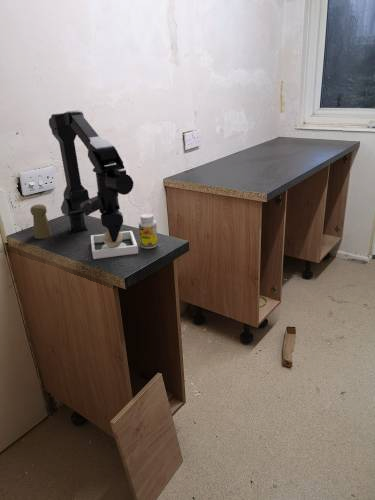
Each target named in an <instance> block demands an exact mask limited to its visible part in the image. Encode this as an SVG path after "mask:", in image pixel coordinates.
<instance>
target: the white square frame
mask: <svg viewBox="0 0 375 500" xmlns="http://www.w3.org/2000/svg"><path fill="white" fill-rule="evenodd" d="M120 232H121V234H122V237H123V240H122V241H124V240H130V242H131V243H132V245H127V244H126V243H125V242H122V243H121V244H120V245H119V246H117V247H114V248H112V247H109V246H107V245H106V244H105V242H104V240H103V236H104V234H105V233H102V234H91V235H90V240H91V241H90V243H91V253H92V254H91V255H92V259H93V260H97V259H105V258H113V257H119V256H127V255H128V256H129V255H136V254H139V249H138V247H139V246H138V244H137V240H136V238H135V236H134V233H133V230H126V231H125V230H124V231H120ZM99 243H104V244H103V245H102V246H101V249H96V246H95V244H99Z"/></svg>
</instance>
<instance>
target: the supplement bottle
mask: <svg viewBox="0 0 375 500" xmlns="http://www.w3.org/2000/svg"><path fill="white" fill-rule="evenodd" d="M138 233H139V234H138V235H139V245H140V247H141V248H143V249H153V248H156V247H157V246H158V230H157V220H155V219H154V215H153V214H152V213H144V214H141V215H140V221H138Z"/></svg>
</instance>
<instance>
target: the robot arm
mask: <svg viewBox="0 0 375 500" xmlns="http://www.w3.org/2000/svg"><path fill="white" fill-rule="evenodd" d="M48 125H49V128H50V129H51V130H50V131H51V134H52V135H53V137H54V138H55V139H56V140H57V141H58V143H59V148H60V155H61V159H62V160H61V162H62V167H63V172H64V176H65V177H64V178H65V182H66V184H65V185H66V186H65V188H64V191H63V201H62V203H61V206H60V210H61V213H62V215H64V216H66V217H68V223H69V225H68V232H69V233H74V232H75V233H76V232H83V231H88V229H89V228H88V223H87V222H86V217H87V216H90V215H91V214H93V213H94V212H97V211H99V213H100V221H101V225H102V227H105V228H106V229H107V230H108V231H109V233H110V236H111V239H112V242H116V240H117V237H118V234H119V231H120V232H121V229H122V226H123V224H124V216H123V213H122V212H121V211H120V209H121V207H120V203H119V195H125V196H126V195H128V194H130V192H131V191H132V190H133V189H134V180H133V178H132V177H131V175H129V174H127V170H126V169H125V165H124V162H123V160H122V158H121V156H120V154H119V152H118V150H117V149H116V147H115V146H114V144H112V143H111V141H108V140H106V139H103V138H102V137H100V135H99V134H98V133H97V132H96V130H95V129H94V128H93V127H92V125H91V124H90V123H89V121H87V119H86V118H85V116H84V113H83V111H80V110H68V111H66V112H64V113H63V112H62V113H53V114H51V115H50V118H49V119H48ZM77 137H78V138H79V140H80V141H81V142H82V143H83V145H84V146H85V147H86V149H87V157H88V159H89V161H90V163H91V164H92V166H93V168H92V172H93V173H95V179H96V186H97V191H96V194H97V195H96V196H93V197H91V198H90V196H89V190H88V189H86V188H85V187H84V186H83V185H82V182H81V181H82V180H81V176H80V175H81V174H80V168H79V163H78V157H77V150H76V145H75V140H76V138H77Z"/></svg>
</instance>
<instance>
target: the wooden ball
mask: <svg viewBox="0 0 375 500" xmlns="http://www.w3.org/2000/svg"><path fill="white" fill-rule="evenodd" d="M121 232H122V231H121V230H120V231H119V234H118V237H117V240H116V242H112V239H111V236H110V233H109V231H108V229H107V230H106V231H105V232H104V233H103V234H104V236H103V240H104V242H103V243H104V245H105V244H106V245H107V246H109V247H112V248H114V247H117V246H119V245H120V244H121V243H123V241H124V240H123V237H122V234H121Z"/></svg>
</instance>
